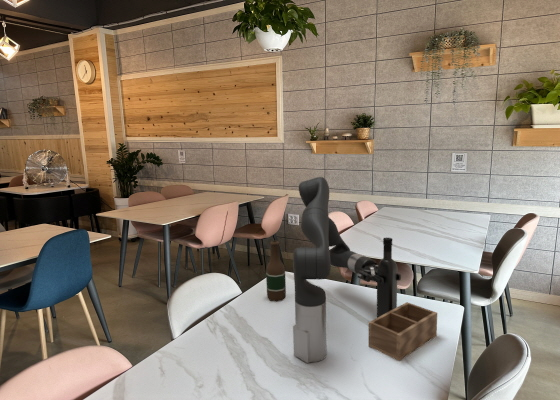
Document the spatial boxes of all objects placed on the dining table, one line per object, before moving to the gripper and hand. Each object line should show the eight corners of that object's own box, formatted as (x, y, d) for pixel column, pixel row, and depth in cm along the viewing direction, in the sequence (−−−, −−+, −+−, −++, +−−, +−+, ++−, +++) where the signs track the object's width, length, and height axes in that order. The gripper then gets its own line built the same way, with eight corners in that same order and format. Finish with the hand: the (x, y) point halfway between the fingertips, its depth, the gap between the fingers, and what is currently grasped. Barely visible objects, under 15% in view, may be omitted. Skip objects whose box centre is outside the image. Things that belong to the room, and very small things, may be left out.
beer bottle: (289, 297, 158) (288, 240, 154) (276, 303, 152) (274, 245, 148) (276, 292, 163) (274, 237, 159) (263, 298, 158) (260, 242, 154)
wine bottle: (382, 315, 140) (383, 235, 135) (397, 319, 136) (399, 237, 131) (375, 321, 135) (376, 239, 130) (390, 326, 132) (392, 241, 127)
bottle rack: (399, 361, 112) (399, 335, 110) (368, 346, 120) (368, 322, 119) (436, 335, 125) (437, 312, 123) (406, 323, 133) (406, 302, 132)
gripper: (346, 259, 142) (374, 272, 128) (377, 253, 148) (408, 265, 133) (346, 278, 144) (374, 294, 129) (377, 271, 150) (407, 286, 135)
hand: (391, 279), depth 131 cm, fingers closed on wine bottle, 7 cm apart
